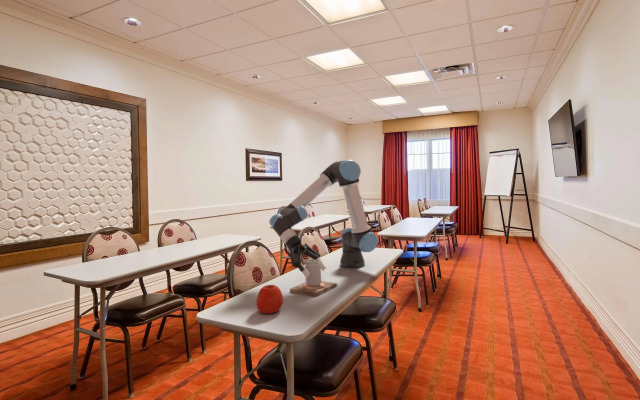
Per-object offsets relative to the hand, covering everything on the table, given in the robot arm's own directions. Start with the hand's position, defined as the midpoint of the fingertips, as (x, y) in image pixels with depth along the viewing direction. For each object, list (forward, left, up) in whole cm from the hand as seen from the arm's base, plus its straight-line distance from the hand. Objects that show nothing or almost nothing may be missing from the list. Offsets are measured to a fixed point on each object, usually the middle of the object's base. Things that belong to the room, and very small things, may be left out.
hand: (316, 272), depth 164 cm
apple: (+32, -1, -9) cm, 33 cm away
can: (0, -2, -7) cm, 7 cm away
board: (0, -2, -8) cm, 9 cm away
